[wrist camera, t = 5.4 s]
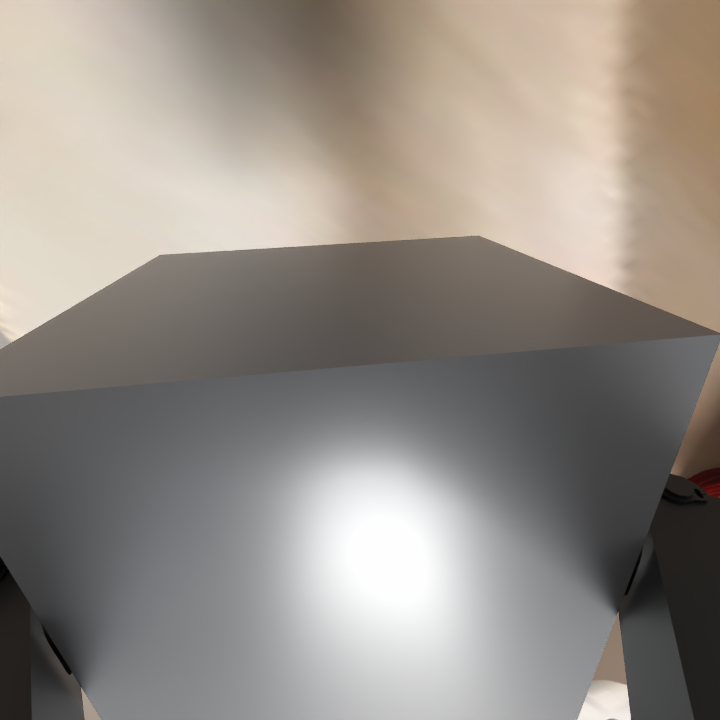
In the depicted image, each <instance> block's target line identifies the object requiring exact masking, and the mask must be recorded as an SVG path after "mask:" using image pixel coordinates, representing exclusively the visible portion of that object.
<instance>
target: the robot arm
mask: <svg viewBox="0 0 720 720" xmlns="http://www.w3.org/2000/svg"><path fill="white" fill-rule="evenodd" d="M618 612H619V620H620V628H621V637H622V645H623V654H624V662H625V671H626V679H627V688H628V696H629V705H630V713H631V720H720V497H712V496H709V494H708V493H707V492H706V491H705V490H703V489H702V488H701V487H699V486H698V485H697V484H695V483H693V482H691V481H689V480H687V479H685V478H683V477H680V476H676V475H673V474H670V475H669V477H668V480H667V483H666V485H665V488H664V491H663V493H662V496H661V499H660V501H659V504H658V507H657V509H656V512H655V515H654V517H653V520H652V523H651V525H650V528H649V530H648V533H647V536H646V538H645V541H644V544H643V546H642V549H641V552H640V554H639V557H638V560H637V562H636V565H635V568H634V570H633V573H632V576H631V578H630V581H629V584H628V586H627V589H626V591H625V594H624V597H623V599H622V602H621V605H620V607H619V610H618ZM0 720H84V711H83V702H82V693H81V686H80V684H79V683H78V681H77V679H76V678H75V676H74V675H73V673H72V671H71V670H70V668H69V667H68V665H67V663H66V662H65V660H64V658H63V657H62V655H61V654H60V652H59V650H58V649H57V647H56V646H55V644H54V642H53V641H52V639H51V637H50V636H49V634H48V633H47V631H46V629H45V628H44V626H43V624H42V623H41V621H40V620H39V618H38V616H37V615H36V613H35V612H34V610H33V608H32V607H31V605H30V603H29V602H28V600H27V599H26V597H25V595H24V594H23V592H22V591H21V589H20V587H19V586H18V584H17V582H16V581H15V579H14V578H13V576H12V574H11V573H10V571H9V569H8V568H7V566H6V565H5V563H4V561H3V560H2V558H1V557H0Z"/></svg>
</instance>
